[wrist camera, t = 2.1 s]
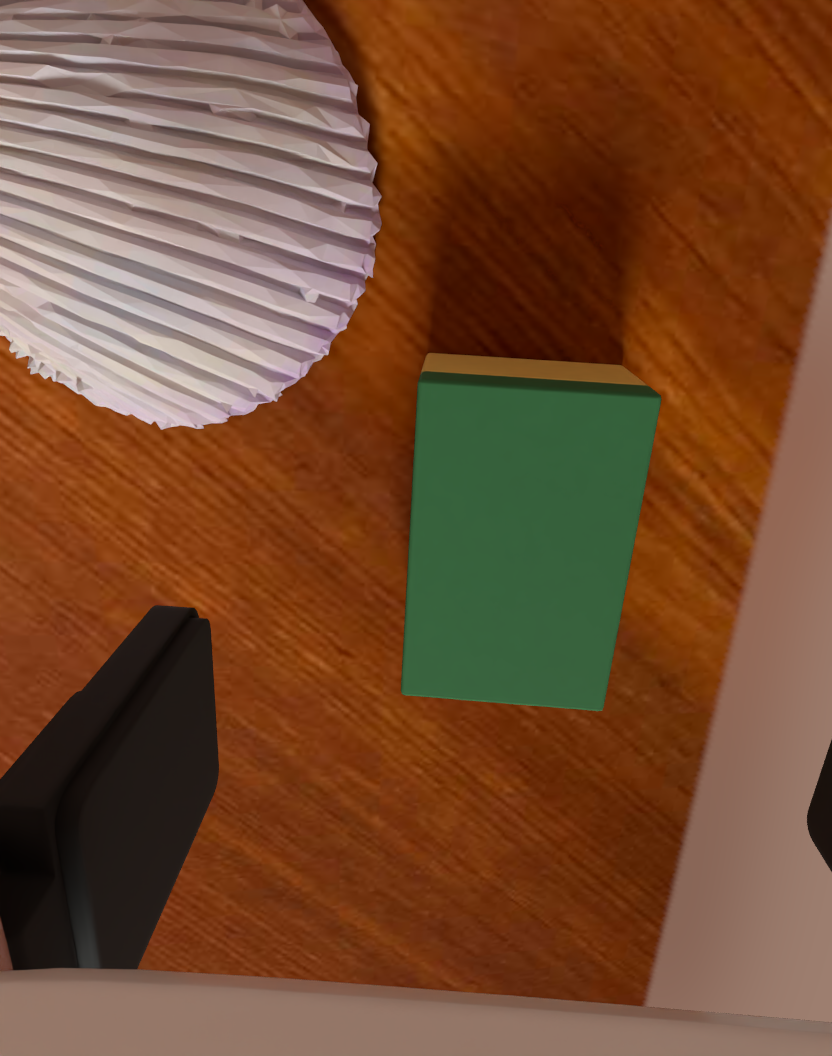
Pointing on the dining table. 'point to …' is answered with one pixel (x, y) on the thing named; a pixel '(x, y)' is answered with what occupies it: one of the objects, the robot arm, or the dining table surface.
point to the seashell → (178, 200)
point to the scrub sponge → (522, 527)
